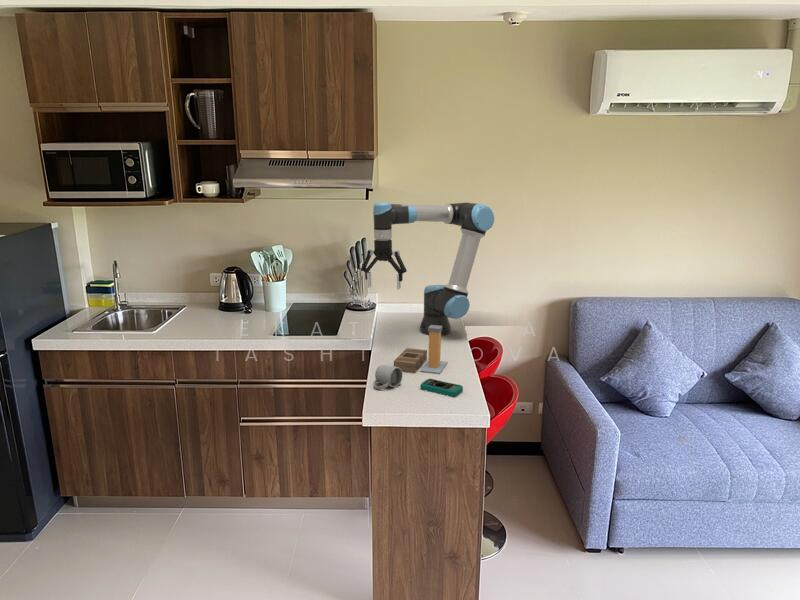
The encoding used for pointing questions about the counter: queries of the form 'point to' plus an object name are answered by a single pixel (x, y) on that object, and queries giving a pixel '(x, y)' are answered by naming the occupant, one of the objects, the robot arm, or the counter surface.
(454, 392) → the digital multimeter
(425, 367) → the mat
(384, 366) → the ceramic mug
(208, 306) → the counter surface
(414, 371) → the wooden socket block
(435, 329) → the plug
